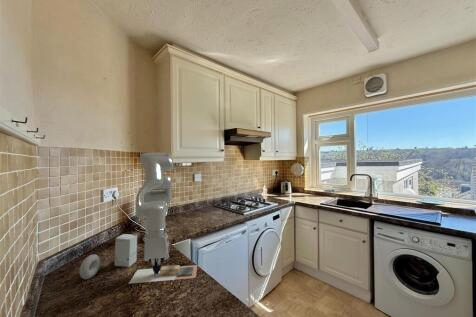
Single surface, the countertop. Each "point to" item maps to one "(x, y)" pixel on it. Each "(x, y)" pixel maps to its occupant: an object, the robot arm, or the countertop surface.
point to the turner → (176, 271)
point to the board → (158, 275)
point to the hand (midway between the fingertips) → (157, 272)
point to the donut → (85, 265)
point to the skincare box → (125, 250)
